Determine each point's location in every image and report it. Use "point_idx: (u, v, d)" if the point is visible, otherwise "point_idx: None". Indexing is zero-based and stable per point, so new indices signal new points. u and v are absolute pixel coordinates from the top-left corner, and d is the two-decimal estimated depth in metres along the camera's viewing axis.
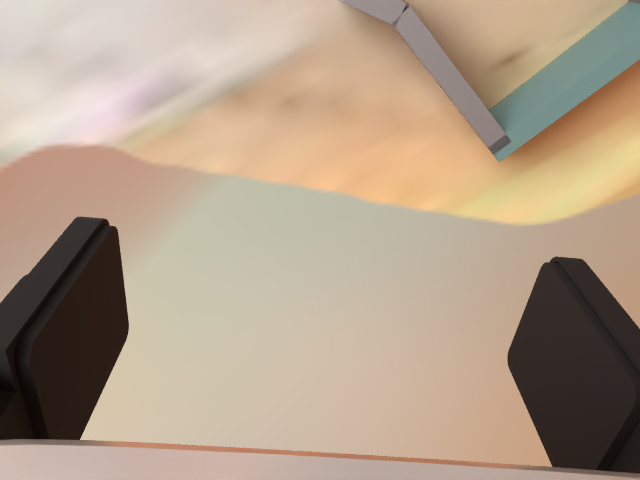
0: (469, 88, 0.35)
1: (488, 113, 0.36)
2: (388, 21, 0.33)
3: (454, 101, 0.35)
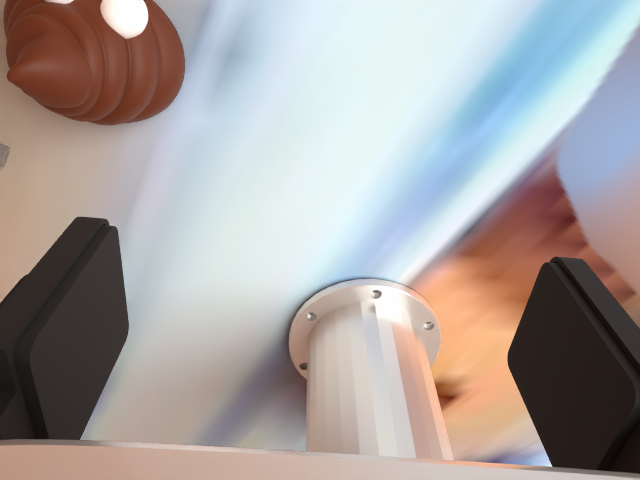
0: None
1: None
2: None
3: None
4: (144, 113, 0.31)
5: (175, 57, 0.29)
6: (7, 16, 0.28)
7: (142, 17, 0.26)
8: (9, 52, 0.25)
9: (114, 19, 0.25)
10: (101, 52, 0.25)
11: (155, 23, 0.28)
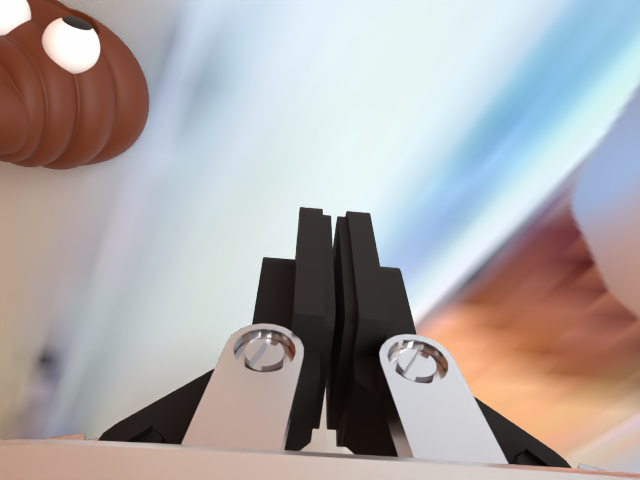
0: None
1: None
2: None
3: None
4: (102, 155, 0.27)
5: (135, 93, 0.26)
6: None
7: (91, 49, 0.23)
8: None
9: (56, 52, 0.22)
10: (41, 90, 0.22)
11: (111, 55, 0.25)
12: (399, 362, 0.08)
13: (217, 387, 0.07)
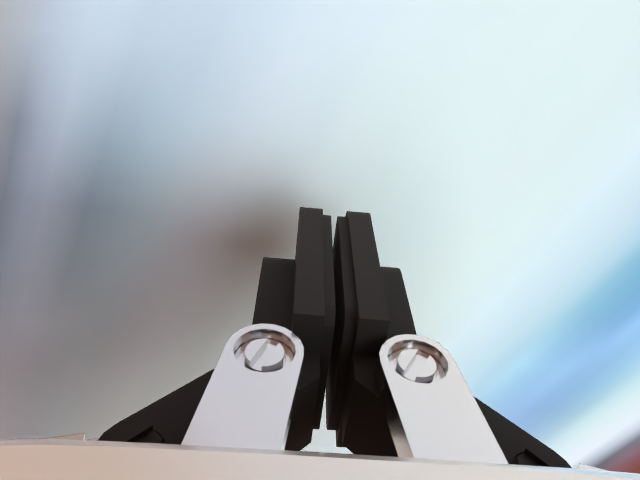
0: None
1: None
2: None
3: None
4: None
5: None
6: None
7: None
8: None
9: None
10: None
11: None
12: (399, 362, 0.08)
13: (217, 387, 0.07)
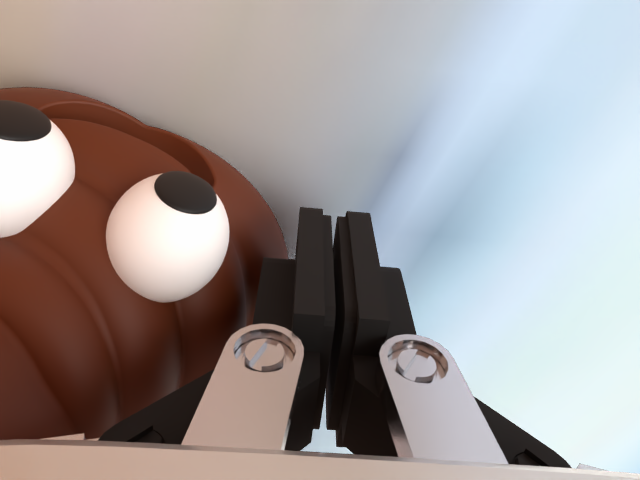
0: None
1: None
2: None
3: None
4: None
5: None
6: None
7: (219, 252, 0.10)
8: None
9: (146, 279, 0.09)
10: (109, 376, 0.09)
11: (239, 226, 0.12)
12: (399, 362, 0.08)
13: (217, 387, 0.07)
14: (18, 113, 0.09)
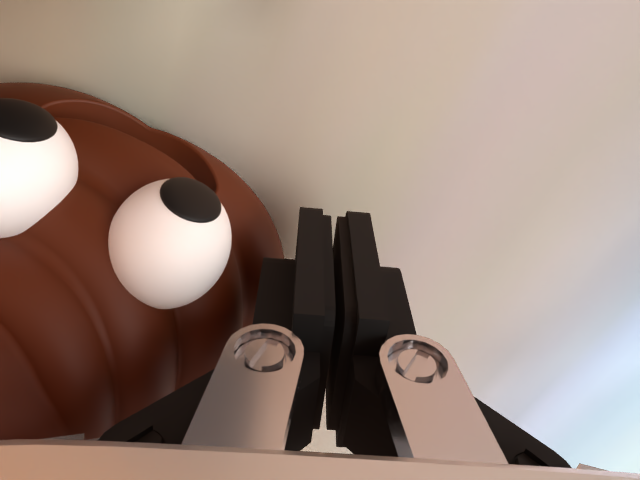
0: None
1: None
2: None
3: None
4: None
5: None
6: None
7: (221, 260, 0.10)
8: None
9: (148, 286, 0.09)
10: (106, 383, 0.09)
11: (239, 233, 0.12)
12: (399, 362, 0.08)
13: (217, 387, 0.07)
14: (25, 113, 0.09)
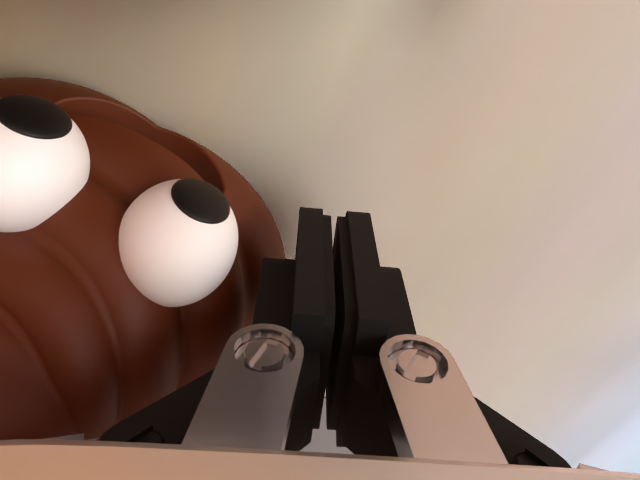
0: None
1: None
2: None
3: None
4: None
5: None
6: None
7: (229, 261, 0.10)
8: None
9: (157, 285, 0.09)
10: (113, 378, 0.09)
11: (244, 234, 0.12)
12: (399, 362, 0.08)
13: (217, 387, 0.07)
14: (41, 110, 0.09)
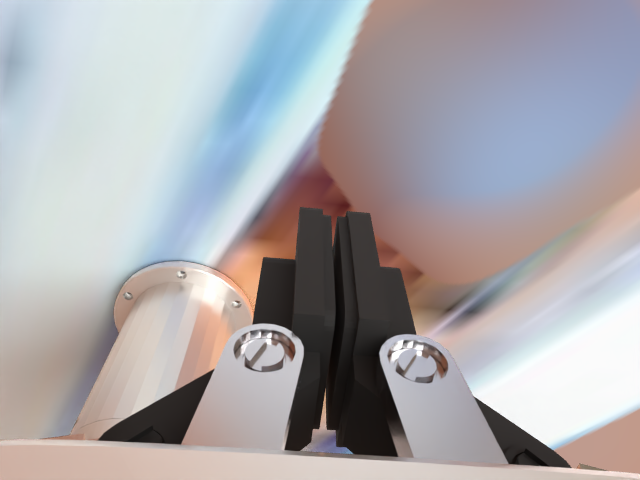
0: None
1: None
2: None
3: None
4: None
5: None
6: None
7: None
8: None
9: None
10: None
11: None
12: (399, 362, 0.08)
13: (217, 387, 0.07)
14: None
